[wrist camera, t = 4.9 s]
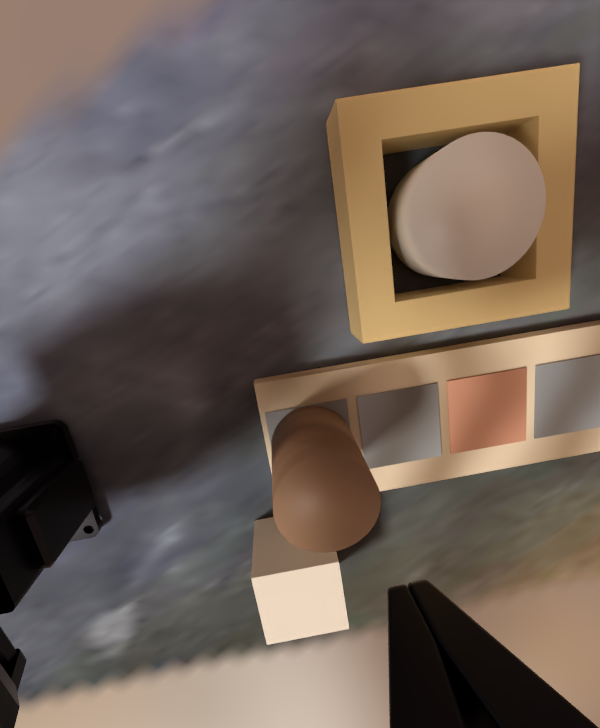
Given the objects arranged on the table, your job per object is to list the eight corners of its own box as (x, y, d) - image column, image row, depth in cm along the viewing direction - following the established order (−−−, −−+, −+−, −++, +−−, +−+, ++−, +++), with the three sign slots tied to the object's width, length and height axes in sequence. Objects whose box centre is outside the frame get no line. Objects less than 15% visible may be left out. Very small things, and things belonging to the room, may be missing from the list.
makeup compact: (278, 500, 20) (278, 511, 19) (254, 379, 18) (253, 385, 18) (597, 442, 21) (611, 450, 20) (606, 318, 19) (621, 321, 18)
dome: (392, 285, 17) (416, 290, 14) (381, 164, 16) (406, 143, 13) (498, 267, 17) (544, 269, 14) (497, 146, 16) (548, 121, 13)
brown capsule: (278, 485, 19) (282, 561, 14) (265, 413, 18) (264, 469, 13) (355, 471, 19) (384, 542, 14) (347, 399, 18) (376, 449, 13)
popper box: (350, 332, 18) (363, 343, 16) (325, 123, 16) (335, 98, 13) (530, 302, 18) (569, 308, 16) (533, 92, 16) (579, 62, 14)
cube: (267, 577, 22) (266, 644, 18) (254, 519, 21) (251, 578, 17) (335, 564, 22) (349, 628, 18) (325, 506, 21) (338, 561, 17)
